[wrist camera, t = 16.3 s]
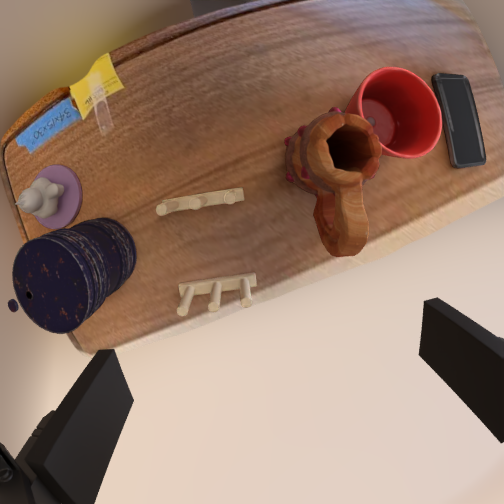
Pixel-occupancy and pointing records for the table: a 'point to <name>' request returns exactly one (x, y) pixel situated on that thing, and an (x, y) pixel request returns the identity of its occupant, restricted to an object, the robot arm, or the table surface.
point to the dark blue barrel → (71, 272)
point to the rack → (211, 284)
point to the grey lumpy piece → (41, 198)
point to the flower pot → (399, 111)
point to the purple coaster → (63, 196)
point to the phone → (459, 120)
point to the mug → (336, 175)
